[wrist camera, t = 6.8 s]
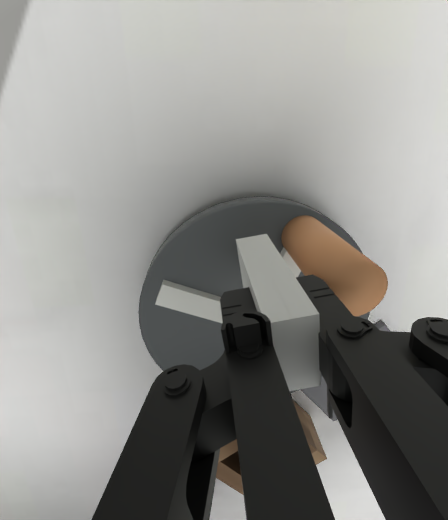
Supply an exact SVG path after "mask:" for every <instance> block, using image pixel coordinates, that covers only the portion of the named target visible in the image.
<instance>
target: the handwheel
mask: <svg viewBox="0 0 448 520" xmlns="http://www.w3.org/2000/svg"><path fill="white" fill-rule="evenodd" d="M262 234H267V235H268V237H269V238H270V240H271V241H272V243H273V244H274V246H275V247H276V249H277V250H278V252H279V253H280V255H281V256H282V258H283V259H284V261H285V262H286V264H287V265H288V267H289V268H290V270H291V271H292V273H293V275H294V276H295V278H296V277H302V276H307V275H312V274H313V275H315V276H317V277H319V278H321V279H323V280H324V281H325V282H326V284H327V285H328V286H329V287H330V289H331V290H332V291H333V292H334V293H335V295H336V296H337V297H338V298H339V299H340V300H341V302H342V303H343V304H344V305H345V306H346V308H347V309H348V310H349V311H350V312H351V314H352V315H353V316H357V317H361V318H363V319H366V320H368V317H369V313H370V311H371V310H372V309H374V308H375V307H376V306H377V305H378V304H379V303H380V302H381V300H382V299H383V297H384V295H385V293H386V290H387V286H388V281H387V276H386V274H385V272H384V271H383V269H382V268H381V267H379V266H378V265H377V264H375V263H374V262H373V261H371V260H370V259H369V258H367V257H366V256H365V255H363V253H362V251H361V249H360V248H359V247H358V245H357V244H356V243H355V241H354V240H353V238H352V237H351V236H350V235H349V234H348V233H347V232H346V231H345V230H343V229H342V228H341V227H340V226H339V225H337V224H336V223H334V222H333V221H331V220H330V219H329V218H327V217H326V216H324V215H323V214H321V213H320V212H318V211H316V210H314V209H312V208H310V207H308V206H306V205H304V204H301V203H298V202H295V201H292V200H288V199H282V198H276V197H248V198H240V199H235V200H231V201H226V202H223V203H221V204H218V205H215V206H212V207H210V208H208V209H206V210H204V211H202V212H200V213H198V214H196V215H194V216H193V217H192V218H190V219H189V220H187V221H186V222H184V223H183V224H182V225H181V226H180V227H178V228H177V229H176V230H175V231H174V232H173V233H172V234H171V235H170V236H169V237H168V238H167V240H166V241H165V242H164V243H163V244H162V246H161V247H160V249H159V250H158V252H157V254H156V255H155V257H154V258H153V260H152V263H151V265H150V268H149V270H148V272H147V275H146V278H145V281H144V284H143V288H142V292H141V296H140V302H139V323H140V329H141V333H142V337H143V340H144V342H145V345H146V347H147V349H148V351H149V353H150V354H151V356H152V358H153V359H154V361H155V362H156V363H157V364H158V365H159V367H160V368H161V369H162V370H163V371H165V370H166V369H168V368H171V367H173V366H176V365H182V364H186V365H192V366H194V367H195V368H197V369H199V370H202V369H204V368H206V367H208V366H210V365H211V364H213V363H215V362H216V361H217V360H218V359H219V358H220V357H221V356H222V354H223V353H224V350H225V348H224V343H223V339H222V334H221V326H222V323H223V321H222V313H221V305H220V299H221V297H222V295H223V293H224V292H225V291H231V290H236V289H242V288H243V283H242V276H241V270H240V263H239V257H238V250H237V244H236V239H240V238H246V237H251V236H257V235H262ZM322 377H323V376H322V374H321V378H322ZM295 391H297V390H294V391H290V393H293V392H295Z"/></svg>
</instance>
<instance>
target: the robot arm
mask: <svg viewBox="0 0 448 520" xmlns="http://www.w3.org/2000/svg"><path fill="white" fill-rule="evenodd" d="M236 244H237V250H238V257H239V263H240V270H241V276H242V283H243V288H242V289H236V290H231V291H225V292H224V293H223V295H222V297H221V299H220V305H221V313H222V321H223V323H222V326H221V334H222V339H223V343H224V348H225V350H224V353H223V354H222V356H221V357H220V358H219V359H218V360H217V361H216V362H215V363H213V364H211V365H210V366H208V367H206V368H204V369H202V370H199V369H197V368H195V367H194V366H192V365H186V364H182V365H176V366H173V367H171V368H168V369H166V370H165V371H164V372H162V373H161V374H160V375H159V376H158V377H157V378H156V380H155V381H154V383H153V384H152V386H151V388H150V391H149V393H148V395H147V397H146V400H145V402H144V404H143V406H142V409H141V411H140V413H139V415H138V417H137V420H136V422H135V424H134V426H133V429H132V431H131V433H130V435H129V438H128V440H127V442H126V444H125V446H124V449H123V451H122V453H121V455H120V458H119V460H118V462H117V464H116V467H115V469H114V471H113V473H112V475H111V478H110V480H109V482H108V484H107V487H106V489H105V491H104V493H103V496H102V498H101V500H100V502H99V504H98V507H97V509H96V511H95V513H94V516H93V518H92V520H209V517H210V511H211V505H212V498H213V492H214V486H215V479H216V473H217V467H218V460H219V454H220V448H222V447H223V446H225V445H227V444H229V443H230V442H232V441H234V440H236V439H237V445H238V453H239V461H240V468H241V476H242V484H243V492H244V499H245V507H246V515H247V520H335V518H334V515H333V513H332V510H331V507H330V504H329V501H328V498H327V496H326V493H325V490H324V487H323V484H322V481H321V479H320V476H319V473H318V470H317V467H316V465H315V462H314V459H313V456H312V453H311V450H310V448H309V445H308V442H307V439H306V436H305V433H304V431H303V428H302V425H301V422H300V419H299V417H298V414H297V411H296V408H295V405H294V402H293V400H292V397H291V394H290V391H294V390H300V389H305V388H310V387H316V386H321V374H322V376H323V378H324V380H325V382H326V384H327V412H328V416H329V418H333V411H334V413H335V415H336V417H337V419H338V421H339V423H340V425H341V427H342V429H343V431H344V434H345V436H346V438H347V440H348V442H349V444H350V446H351V448H352V450H353V452H354V454H355V457H356V459H357V461H358V463H359V465H360V467H361V469H362V471H363V473H364V475H365V477H366V479H367V482H368V484H369V486H370V488H371V490H372V492H373V494H374V496H375V498H376V500H377V502H378V504H379V507H380V509H381V511H382V513H383V515H384V517H385V519H386V520H448V320H447V319H443V318H433V317H427V318H422V319H418V320H417V321H415V322H414V323H413V325H412V328H411V332H389V331H380V330H379V329H378V328H377V327H376V326H375V325H374V324H372V323H371V322H370V321H368V320H366V319H363V318H361V317H357V316H353V315H352V314H351V312H350V311H349V310H348V309H347V308H346V306H345V305H344V304H343V303H342V302H341V300H340V299H339V298H338V297H337V296H336V295H335V293H334V292H333V291H332V290H331V289H330V287H329V286H328V285H327V284H326V282H325V281H324V280H323V279H321V278H319V277H317V276H315V275H313V274H312V275H307V276H302V277H296V278H295V276H294V275H293V273H292V271H291V270H290V268H289V267H288V265H287V264H286V262H285V261H284V259H283V258H282V256H281V255H280V253H279V252H278V250H277V249H276V247H275V246H274V244H273V243H272V241H271V240H270V238H269V237H268V235H267V234H262V235H257V236H251V237H246V238H240V239H236Z"/></svg>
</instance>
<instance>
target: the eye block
mask: <svg viewBox="0 0 448 520" xmlns="http://www.w3.org/2000/svg"><path fill="white" fill-rule="evenodd" d="M293 402H294V405H295V408H296V411H297V414H298V417H299V419H300V422H301V425H302V428H303V431H304V433H305V436H306V439H307V442H308V445H309V448H310V450H311V453H312V456H313V459H314V462H315V465H317V464H318V463H320V462H322V461H324V460H326V459H327V457H326V455H325V452H324V450H323V447H322V445H321V442H320V440H319V437H318V435H317V432H316V430H315V427H314V424H313V422H312V419H311V417H310V415H309V414H308V413H306V412H305V411H304V410H303V409H302V408H301V407H300V406H299V405H298V404H297V403H296V402H295V401H294V400H293ZM216 478H217V479H219V480H221V481H222V482H224V483H225V484H227V485H228V486H230V487H232V488H233V489H235V490H236V491H238V492H240V493H241V494H243V487H242V479H241V471H240V463H239V455H238V445H237V439H236V440H234V441H232V442H230V443H229V444H227V445H225V446H223V447H222V448H220V454H219V460H218V467H217V473H216Z"/></svg>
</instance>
